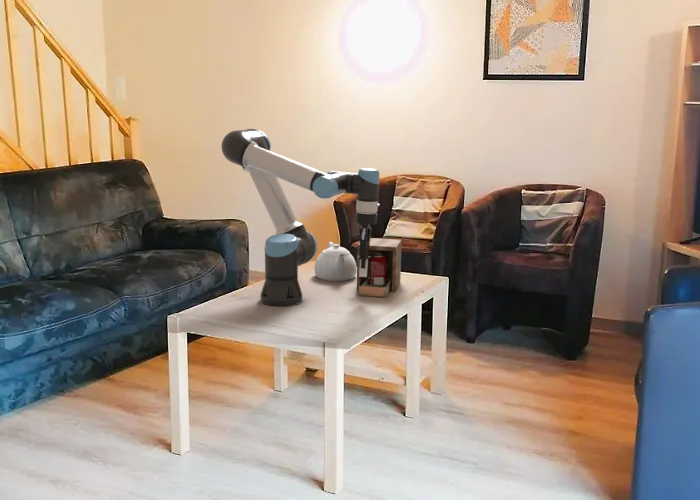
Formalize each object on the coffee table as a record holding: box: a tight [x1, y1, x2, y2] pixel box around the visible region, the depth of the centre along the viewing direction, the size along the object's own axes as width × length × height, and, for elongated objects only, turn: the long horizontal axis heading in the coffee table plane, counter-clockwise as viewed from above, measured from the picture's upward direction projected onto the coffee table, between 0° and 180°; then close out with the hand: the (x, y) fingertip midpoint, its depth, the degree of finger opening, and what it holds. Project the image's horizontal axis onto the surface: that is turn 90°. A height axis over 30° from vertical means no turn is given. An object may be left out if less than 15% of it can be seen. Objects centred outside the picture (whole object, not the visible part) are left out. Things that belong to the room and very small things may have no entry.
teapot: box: [314, 241, 357, 282], centre depth 319 cm, size 19×18×14 cm
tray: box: [358, 277, 392, 298], centre depth 299 cm, size 10×20×3 cm, turn 169°
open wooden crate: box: [356, 237, 403, 293], centre depth 304 cm, size 15×15×18 cm
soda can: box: [369, 253, 387, 287], centre depth 302 cm, size 7×7×12 cm
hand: (362, 276), depth 284 cm, fingers closed
